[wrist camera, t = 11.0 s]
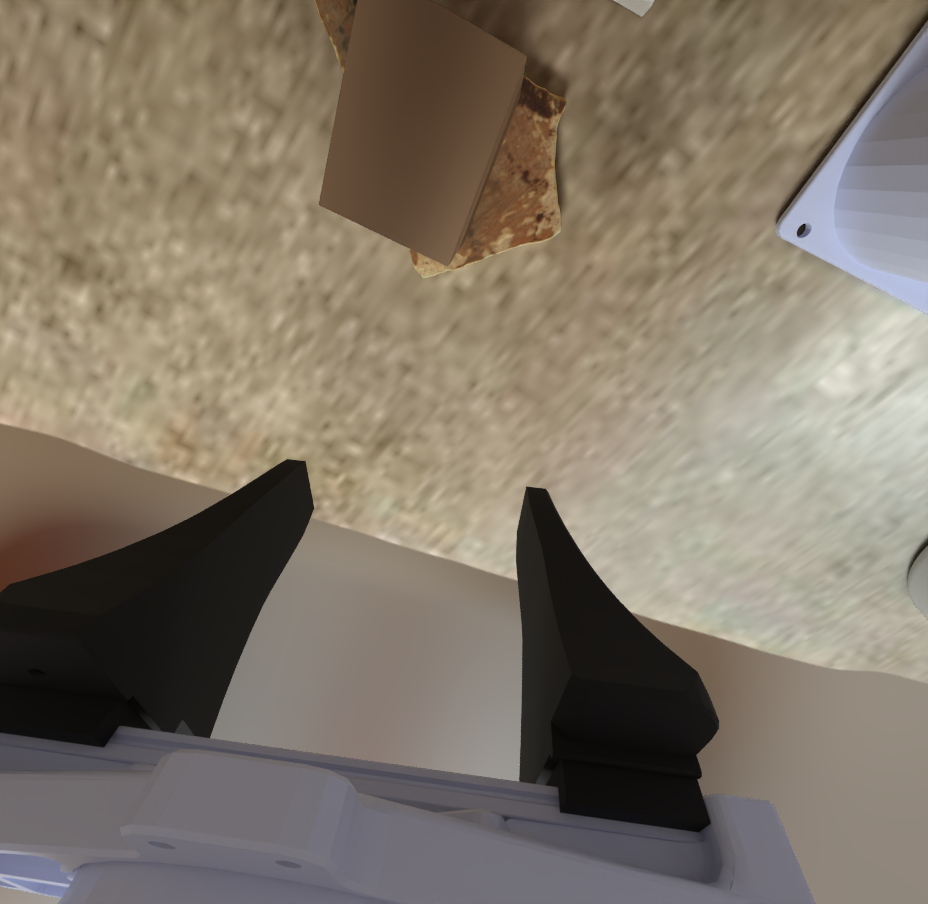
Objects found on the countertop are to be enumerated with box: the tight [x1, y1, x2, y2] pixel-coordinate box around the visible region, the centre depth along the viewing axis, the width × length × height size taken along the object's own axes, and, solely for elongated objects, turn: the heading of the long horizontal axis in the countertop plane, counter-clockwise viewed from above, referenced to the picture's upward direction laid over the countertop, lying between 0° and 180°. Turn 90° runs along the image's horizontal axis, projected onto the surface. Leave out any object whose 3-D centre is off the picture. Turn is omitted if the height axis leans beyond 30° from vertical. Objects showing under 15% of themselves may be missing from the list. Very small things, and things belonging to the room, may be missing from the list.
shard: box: [314, 0, 566, 278], centre depth 15 cm, size 11×8×2 cm
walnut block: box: [319, 0, 527, 267], centre depth 13 cm, size 4×5×6 cm
